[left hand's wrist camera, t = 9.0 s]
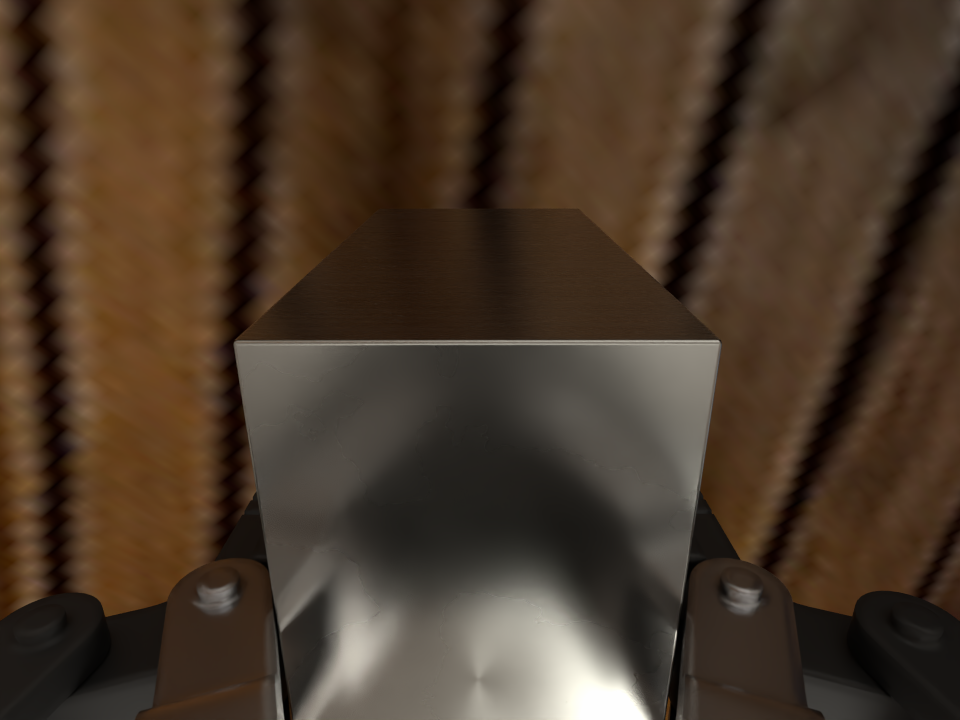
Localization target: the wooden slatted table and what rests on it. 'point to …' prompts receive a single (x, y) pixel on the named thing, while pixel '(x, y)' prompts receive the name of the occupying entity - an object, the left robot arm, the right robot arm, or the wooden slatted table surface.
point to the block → (478, 470)
